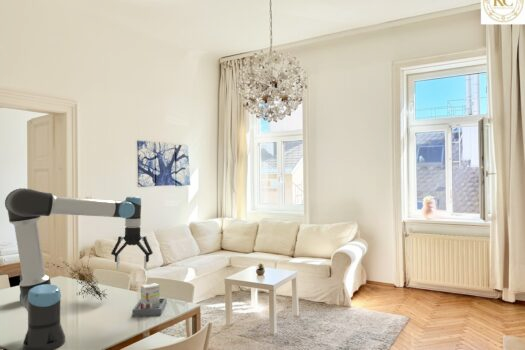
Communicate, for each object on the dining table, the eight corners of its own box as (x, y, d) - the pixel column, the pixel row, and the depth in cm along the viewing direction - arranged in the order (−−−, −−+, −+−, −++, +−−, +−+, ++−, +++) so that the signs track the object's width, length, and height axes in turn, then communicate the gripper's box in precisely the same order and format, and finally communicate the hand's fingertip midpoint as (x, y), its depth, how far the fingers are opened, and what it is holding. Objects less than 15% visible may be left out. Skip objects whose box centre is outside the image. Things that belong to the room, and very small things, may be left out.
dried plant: (129, 270, 214) (92, 231, 240) (71, 287, 190) (38, 242, 217) (122, 314, 223) (87, 272, 250) (66, 335, 200) (34, 286, 227)
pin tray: (161, 314, 194) (161, 303, 194) (132, 316, 192) (132, 304, 192) (166, 303, 211) (166, 293, 212) (140, 304, 210) (140, 294, 210)
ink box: (143, 310, 197) (143, 287, 197) (140, 308, 201) (140, 285, 201) (159, 307, 202) (159, 284, 203) (156, 304, 206) (156, 282, 206)
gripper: (158, 226, 203) (157, 266, 202) (110, 225, 200) (108, 267, 200) (156, 227, 195) (155, 269, 194) (105, 227, 193) (104, 270, 192)
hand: (131, 268), depth 197 cm, fingers open, 13 cm apart
